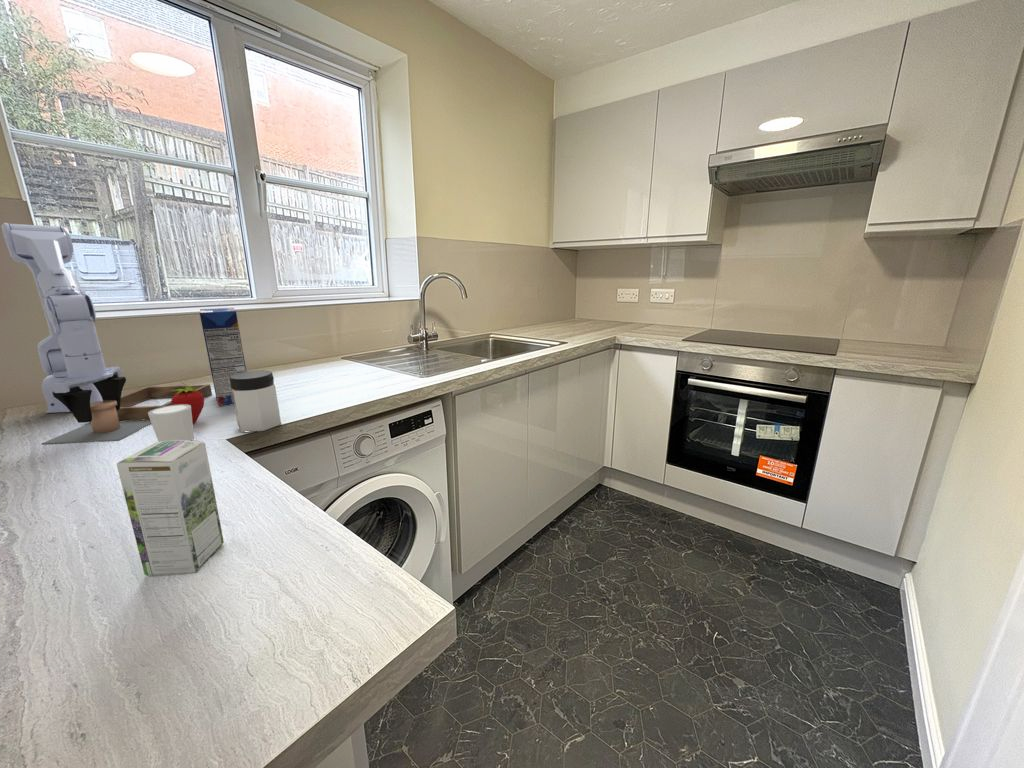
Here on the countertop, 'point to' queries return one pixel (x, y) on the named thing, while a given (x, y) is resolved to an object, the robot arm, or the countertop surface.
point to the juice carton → (223, 349)
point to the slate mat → (87, 433)
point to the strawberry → (189, 400)
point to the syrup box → (172, 506)
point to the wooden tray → (151, 392)
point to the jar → (255, 400)
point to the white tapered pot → (172, 422)
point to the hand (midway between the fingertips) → (100, 415)
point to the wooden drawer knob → (104, 416)
